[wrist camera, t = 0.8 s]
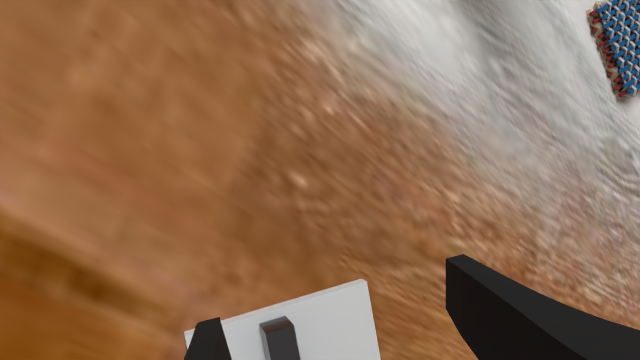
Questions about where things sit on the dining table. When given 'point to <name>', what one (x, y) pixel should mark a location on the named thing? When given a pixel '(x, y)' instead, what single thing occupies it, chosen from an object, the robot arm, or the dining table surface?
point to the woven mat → (619, 42)
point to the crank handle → (279, 339)
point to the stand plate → (311, 326)
